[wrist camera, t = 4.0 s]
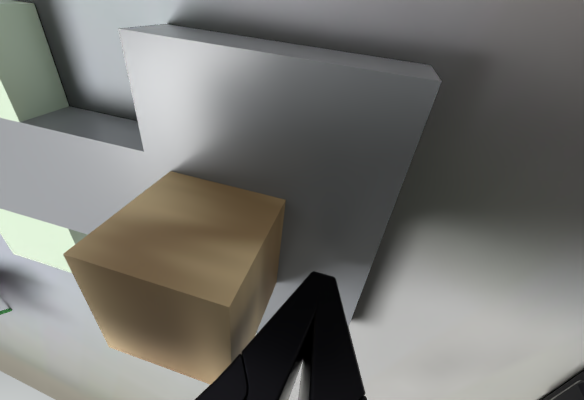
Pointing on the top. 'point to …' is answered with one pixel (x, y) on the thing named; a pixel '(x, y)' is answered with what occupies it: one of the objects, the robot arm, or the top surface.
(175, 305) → the maple block
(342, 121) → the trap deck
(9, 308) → the lily
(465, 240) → the top surface
